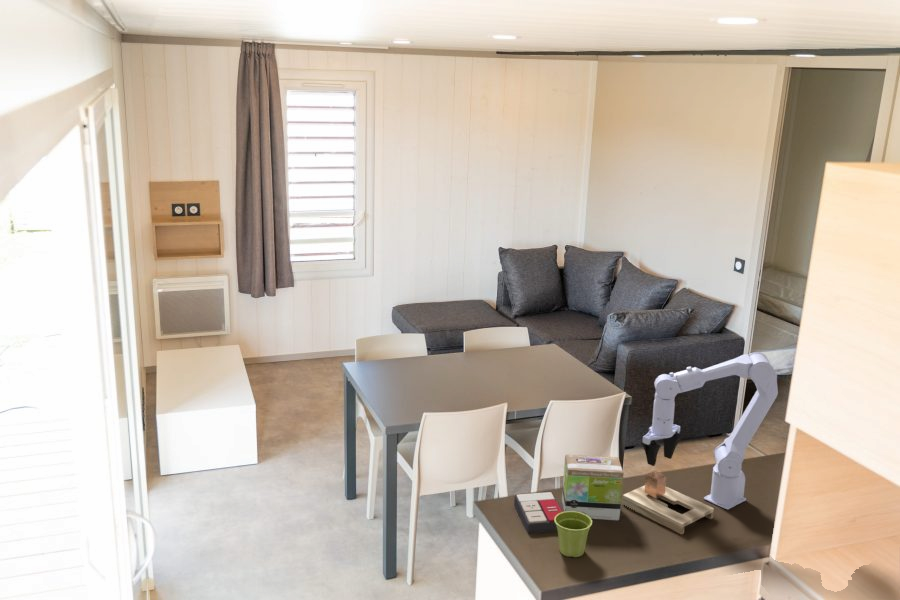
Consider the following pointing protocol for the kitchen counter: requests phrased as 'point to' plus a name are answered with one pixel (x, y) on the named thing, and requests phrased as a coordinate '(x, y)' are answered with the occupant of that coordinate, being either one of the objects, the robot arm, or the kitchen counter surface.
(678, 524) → the keyhole plate
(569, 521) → the plant pot
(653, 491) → the peg
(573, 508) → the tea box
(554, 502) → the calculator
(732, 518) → the kitchen counter surface
